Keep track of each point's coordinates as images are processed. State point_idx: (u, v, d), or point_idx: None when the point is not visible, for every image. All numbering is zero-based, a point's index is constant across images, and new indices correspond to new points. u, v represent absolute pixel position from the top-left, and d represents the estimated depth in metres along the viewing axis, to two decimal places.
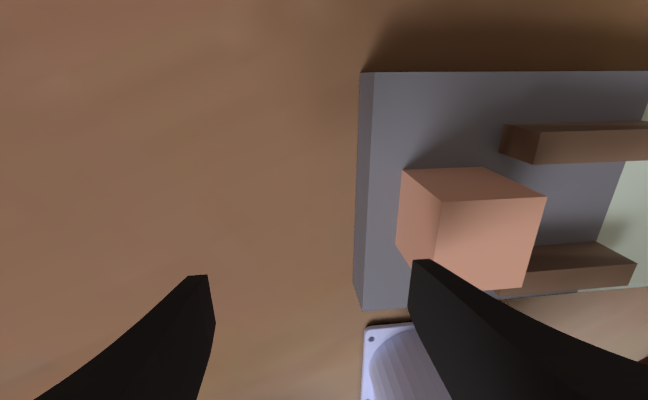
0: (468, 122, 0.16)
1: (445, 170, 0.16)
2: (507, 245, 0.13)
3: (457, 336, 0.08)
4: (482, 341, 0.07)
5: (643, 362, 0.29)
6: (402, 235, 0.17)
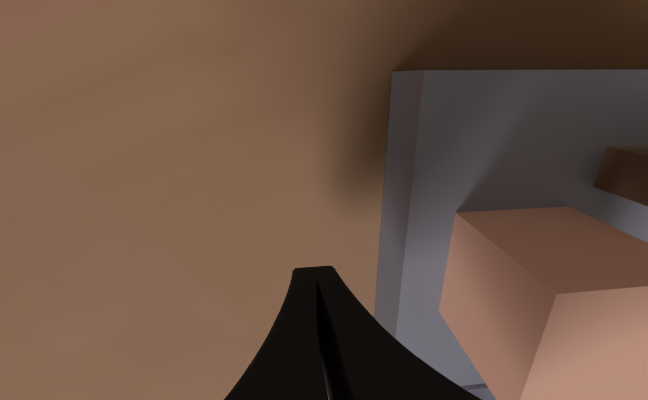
0: (557, 144, 0.11)
1: (519, 214, 0.11)
2: (646, 350, 0.08)
3: (329, 348, 0.08)
4: (336, 356, 0.07)
5: None
6: (454, 305, 0.12)
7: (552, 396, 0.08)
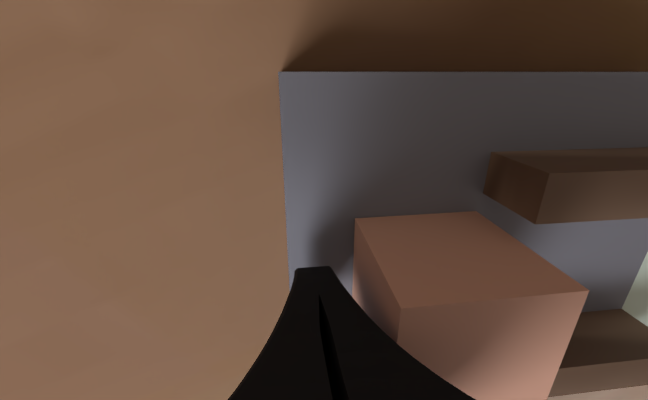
0: (436, 149, 0.10)
1: (420, 219, 0.11)
2: (517, 364, 0.08)
3: (326, 348, 0.08)
4: (333, 357, 0.07)
5: None
6: None
7: None
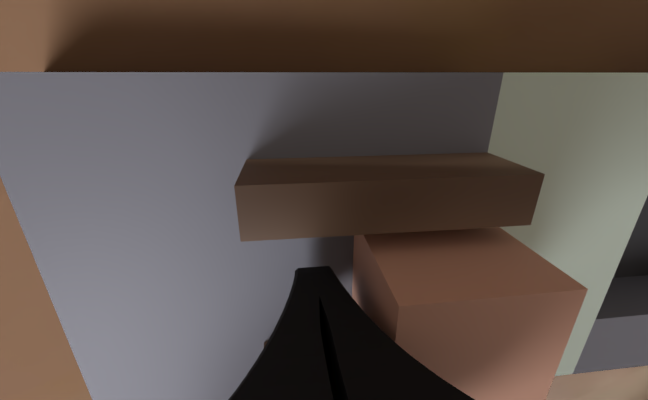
0: (180, 157, 0.09)
1: None
2: (516, 363, 0.08)
3: (326, 349, 0.08)
4: (332, 357, 0.07)
5: None
6: None
7: None
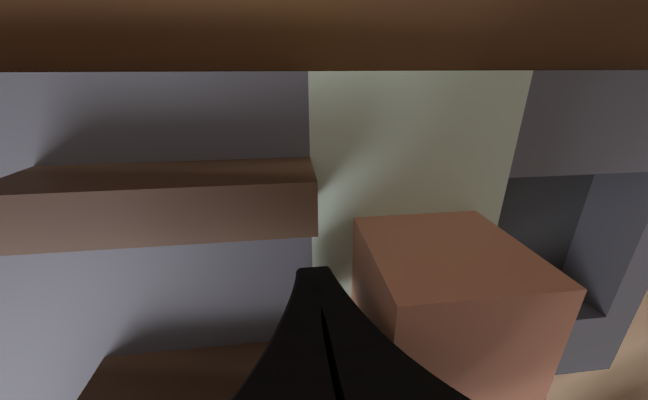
0: None
1: (419, 219, 0.11)
2: (515, 363, 0.08)
3: None
4: (330, 357, 0.07)
5: None
6: None
7: None
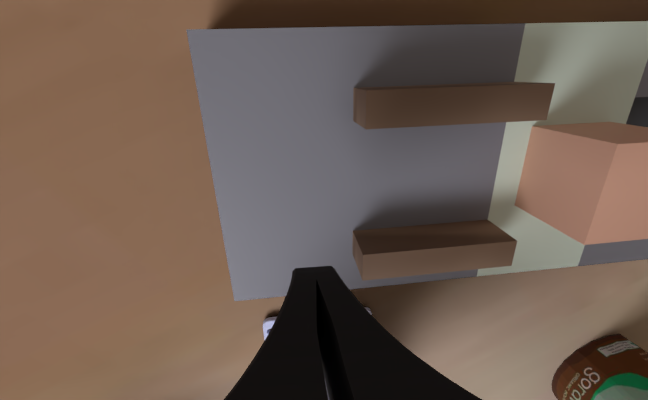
0: (311, 86, 0.14)
1: (577, 125, 0.16)
2: None
3: (329, 348, 0.08)
4: (336, 356, 0.07)
5: (580, 351, 0.28)
6: (530, 193, 0.17)
7: (610, 223, 0.13)
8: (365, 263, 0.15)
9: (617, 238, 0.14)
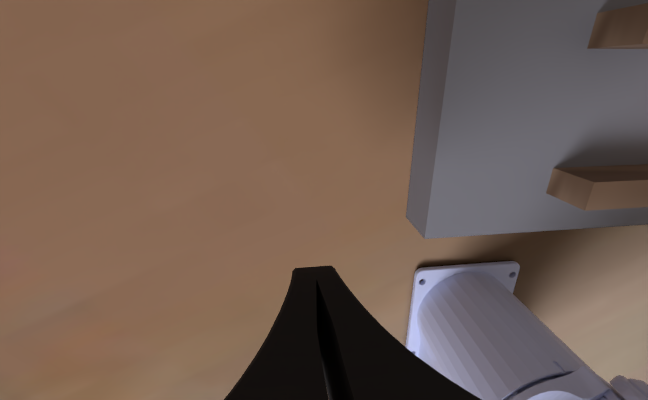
0: (559, 9, 0.14)
1: None
2: None
3: (329, 348, 0.08)
4: (336, 356, 0.07)
5: None
6: None
7: None
8: (593, 191, 0.15)
9: None
